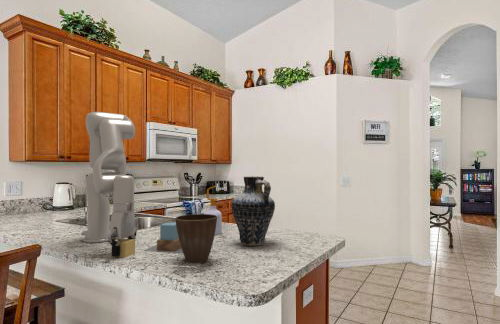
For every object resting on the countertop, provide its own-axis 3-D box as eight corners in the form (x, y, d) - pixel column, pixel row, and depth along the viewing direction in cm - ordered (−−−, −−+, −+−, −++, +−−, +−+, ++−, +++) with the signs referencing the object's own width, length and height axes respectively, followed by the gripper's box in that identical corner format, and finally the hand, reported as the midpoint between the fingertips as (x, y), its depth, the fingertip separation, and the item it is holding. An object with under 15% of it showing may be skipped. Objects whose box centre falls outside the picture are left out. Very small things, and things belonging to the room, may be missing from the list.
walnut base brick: (156, 250, 130) (156, 240, 130) (166, 245, 137) (166, 236, 137) (175, 251, 128) (175, 241, 128) (183, 246, 135) (183, 237, 135)
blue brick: (167, 236, 136) (167, 222, 136) (180, 237, 135) (180, 223, 135) (160, 239, 130) (160, 224, 130) (173, 240, 129) (173, 225, 129)
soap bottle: (220, 235, 162) (220, 186, 162) (202, 235, 162) (202, 186, 162) (222, 231, 171) (222, 185, 171) (205, 231, 171) (205, 185, 171)
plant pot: (179, 270, 106) (179, 221, 106) (171, 258, 120) (171, 215, 120) (222, 264, 112) (222, 218, 112) (210, 254, 126) (210, 213, 126)
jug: (222, 243, 143) (222, 176, 144) (252, 237, 157) (252, 175, 157) (255, 252, 128) (255, 176, 129) (286, 244, 142) (285, 176, 143)
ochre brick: (111, 258, 121) (111, 242, 121) (121, 254, 127) (121, 238, 127) (125, 259, 119) (125, 242, 119) (135, 255, 125) (135, 239, 125)
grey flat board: (143, 252, 129) (143, 250, 129) (158, 245, 140) (158, 243, 140) (184, 255, 124) (184, 253, 124) (196, 247, 136) (196, 246, 136)
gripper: (128, 205, 133) (128, 247, 132) (99, 210, 116) (99, 258, 115) (145, 205, 131) (144, 248, 130) (117, 210, 114) (117, 260, 114)
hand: (123, 253), depth 123 cm, fingers open, 8 cm apart
